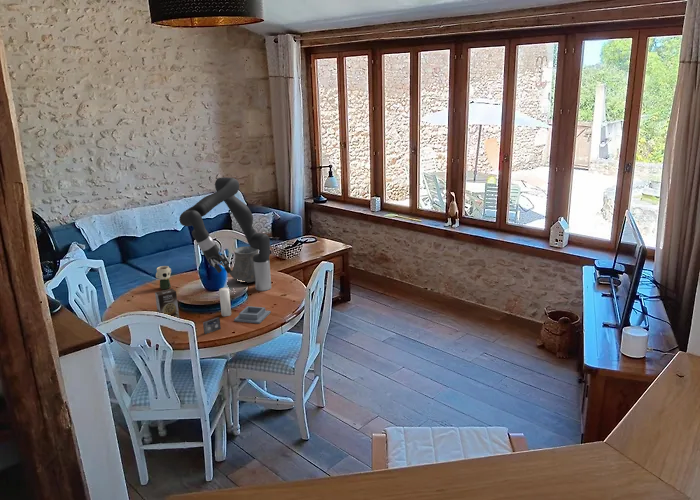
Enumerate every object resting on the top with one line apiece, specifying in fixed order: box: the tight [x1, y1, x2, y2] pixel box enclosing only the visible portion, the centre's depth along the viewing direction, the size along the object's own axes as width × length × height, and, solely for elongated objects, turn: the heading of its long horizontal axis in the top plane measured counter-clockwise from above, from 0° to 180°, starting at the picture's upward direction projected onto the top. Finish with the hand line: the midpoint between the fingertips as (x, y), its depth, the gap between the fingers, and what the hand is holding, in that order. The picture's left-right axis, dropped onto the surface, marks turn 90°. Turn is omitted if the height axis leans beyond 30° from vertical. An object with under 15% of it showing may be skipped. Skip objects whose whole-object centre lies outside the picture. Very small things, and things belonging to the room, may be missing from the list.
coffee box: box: [154, 288, 180, 319], centre depth 276 cm, size 9×6×16 cm
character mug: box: [155, 265, 172, 290], centre depth 323 cm, size 11×7×13 cm, turn 149°
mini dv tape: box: [202, 317, 222, 335], centre depth 265 cm, size 8×2×6 cm, turn 133°
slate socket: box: [233, 305, 272, 324], centre depth 280 cm, size 14×14×4 cm
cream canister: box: [218, 287, 232, 317], centre depth 283 cm, size 5×5×14 cm
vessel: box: [229, 245, 259, 284], centre depth 333 cm, size 22×22×20 cm
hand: (224, 272), depth 275 cm, fingers open, 8 cm apart
